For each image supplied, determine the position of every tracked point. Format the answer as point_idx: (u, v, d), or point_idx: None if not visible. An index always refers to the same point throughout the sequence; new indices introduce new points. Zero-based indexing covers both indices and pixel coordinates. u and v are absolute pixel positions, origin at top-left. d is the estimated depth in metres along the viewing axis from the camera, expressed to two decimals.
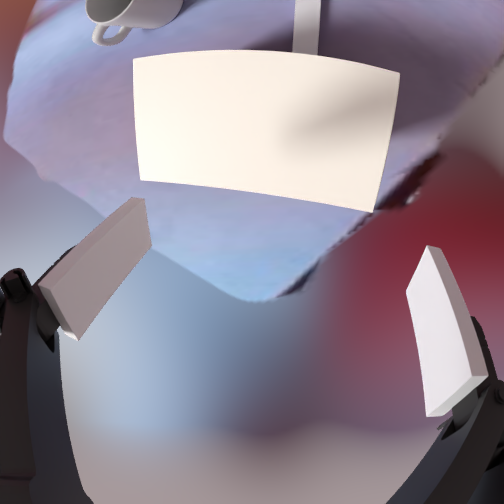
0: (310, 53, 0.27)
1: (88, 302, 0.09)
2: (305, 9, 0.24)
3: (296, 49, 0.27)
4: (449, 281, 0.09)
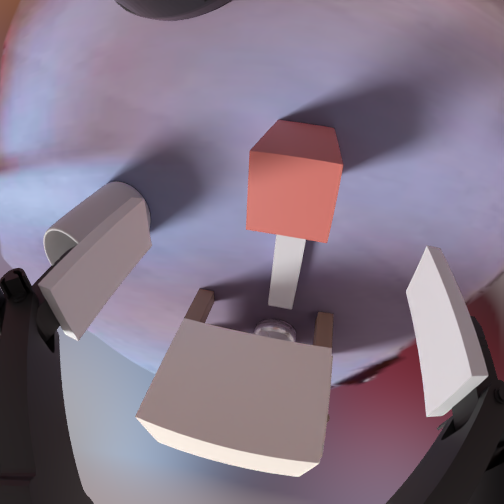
0: (286, 304, 0.34)
1: (88, 302, 0.09)
2: (285, 263, 0.31)
3: (272, 300, 0.34)
4: (449, 281, 0.09)
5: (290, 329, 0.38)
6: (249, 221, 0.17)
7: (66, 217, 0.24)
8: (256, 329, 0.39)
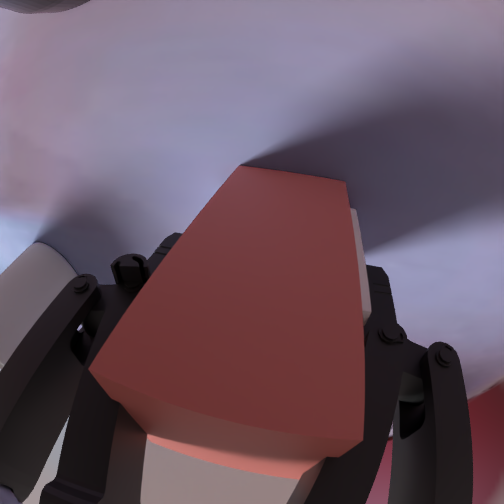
0: None
1: None
2: None
3: None
4: None
5: None
6: (151, 439, 0.07)
7: None
8: None
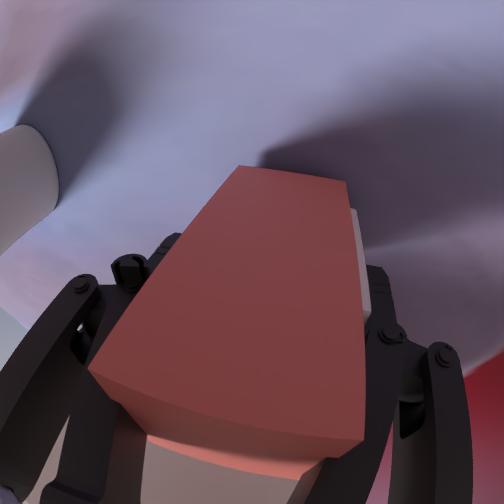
0: None
1: None
2: None
3: None
4: None
5: None
6: (150, 439, 0.07)
7: None
8: None
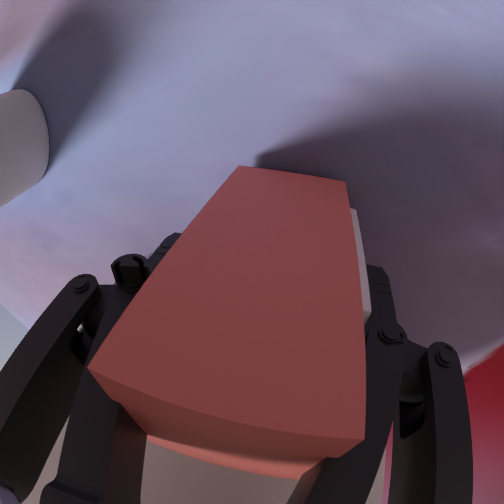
0: None
1: None
2: None
3: None
4: None
5: None
6: (150, 439, 0.07)
7: None
8: None
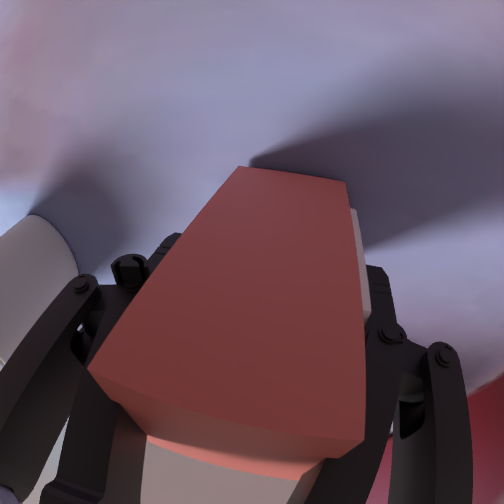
0: None
1: None
2: None
3: None
4: None
5: None
6: (150, 439, 0.07)
7: None
8: None
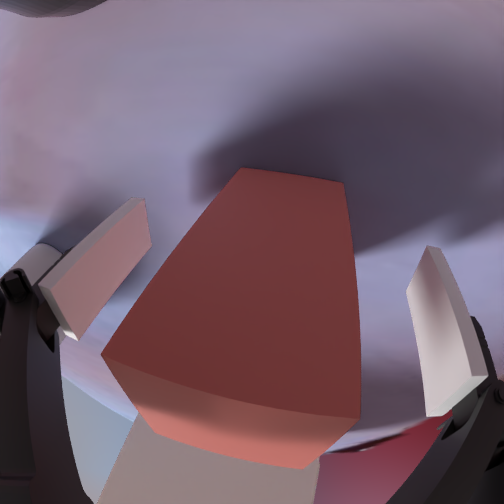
0: None
1: (88, 302, 0.09)
2: None
3: None
4: (449, 281, 0.09)
5: None
6: (156, 429, 0.07)
7: None
8: None
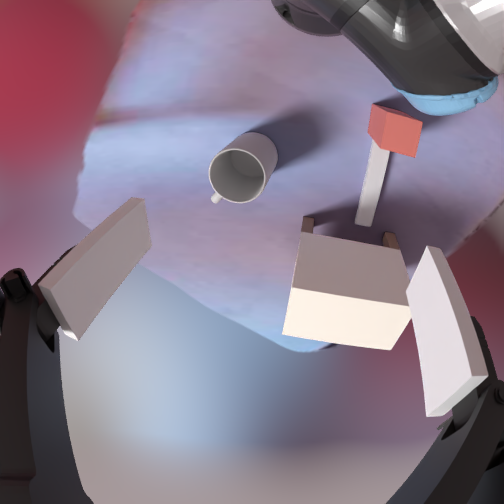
0: (367, 222, 0.48)
1: (88, 302, 0.09)
2: (370, 191, 0.45)
3: (358, 219, 0.48)
4: (449, 281, 0.09)
5: None
6: (382, 144, 0.31)
7: (238, 144, 0.38)
8: None
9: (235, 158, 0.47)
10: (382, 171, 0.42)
